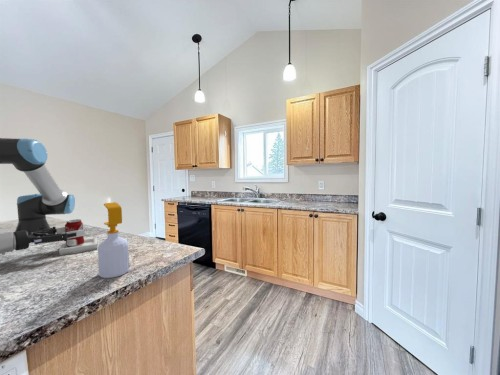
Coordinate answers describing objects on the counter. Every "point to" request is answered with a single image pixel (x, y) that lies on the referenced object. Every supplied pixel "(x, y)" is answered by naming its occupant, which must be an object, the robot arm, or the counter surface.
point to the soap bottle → (113, 246)
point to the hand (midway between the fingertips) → (79, 230)
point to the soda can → (74, 226)
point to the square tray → (79, 247)
